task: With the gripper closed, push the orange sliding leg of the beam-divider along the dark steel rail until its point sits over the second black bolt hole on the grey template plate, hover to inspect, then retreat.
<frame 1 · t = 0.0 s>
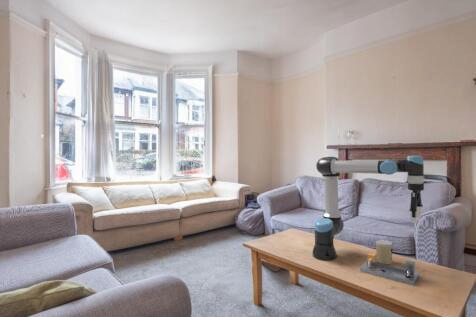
hand: (416, 220, 150), 28 cm above the table, fingers open, 13 cm apart
sliding leg: (371, 259, 154), point 5 cm above the table, slide at 0.0 cm
template plate: (388, 273, 147), on the table
coffee cup: (384, 261, 162), on the table
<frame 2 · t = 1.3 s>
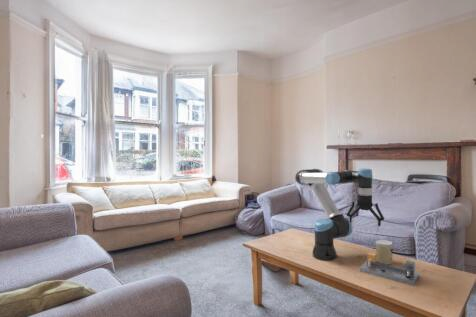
hand: (364, 229, 159), 21 cm above the table, fingers open, 13 cm apart
nothing on the table moved.
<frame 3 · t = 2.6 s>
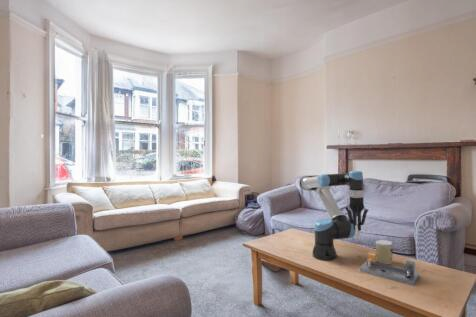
hand: (357, 235, 160), 17 cm above the table, fingers closed
nothing on the table moved.
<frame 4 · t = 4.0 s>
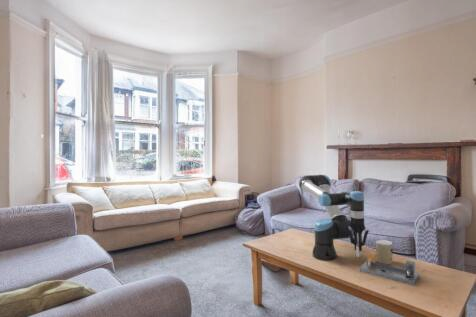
hand: (358, 255, 160), 5 cm above the table, fingers closed
nothing on the table moved.
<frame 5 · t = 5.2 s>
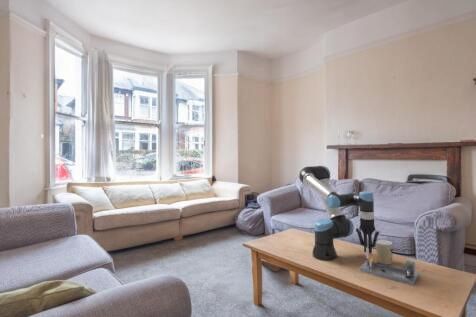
hand: (368, 258, 156), 5 cm above the table, fingers closed
sliding leg: (372, 260, 153), point 5 cm above the table, slide at 0.8 cm, touching gripper
everything else where it was.
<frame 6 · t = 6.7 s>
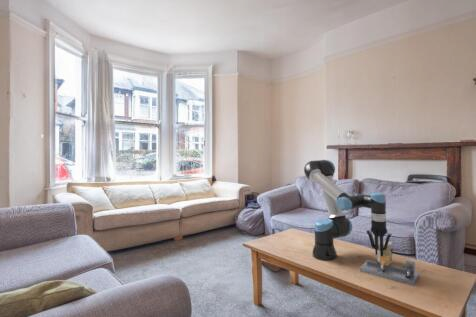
hand: (379, 260, 152), 5 cm above the table, fingers closed
sliding leg: (383, 262, 149), point 5 cm above the table, slide at 6.7 cm, touching gripper
everything else where it was.
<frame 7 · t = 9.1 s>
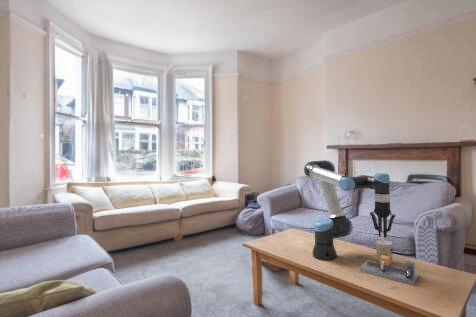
hand: (382, 242, 149), 17 cm above the table, fingers closed
sliding leg: (383, 262, 149), point 5 cm above the table, slide at 6.7 cm
everything else where it was.
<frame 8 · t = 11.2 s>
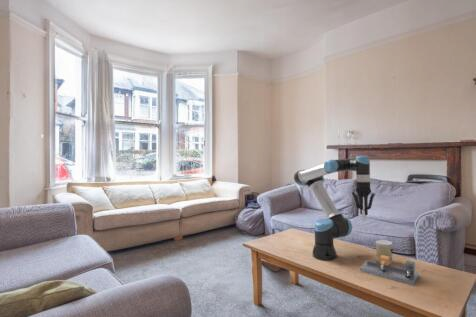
hand: (364, 220, 160), 26 cm above the table, fingers closed
nothing on the table moved.
at the end: sliding leg slide at 6.7 cm; sliding leg 0.3 cm from the target spot, resting on template plate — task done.
